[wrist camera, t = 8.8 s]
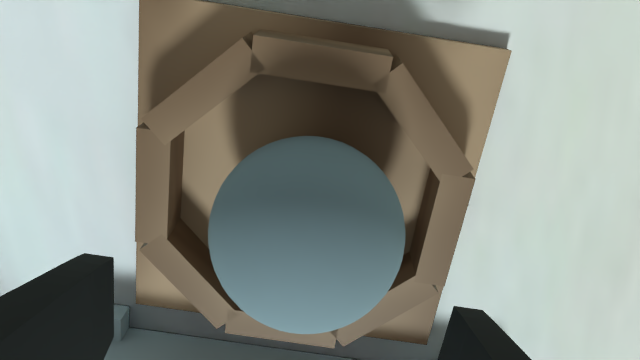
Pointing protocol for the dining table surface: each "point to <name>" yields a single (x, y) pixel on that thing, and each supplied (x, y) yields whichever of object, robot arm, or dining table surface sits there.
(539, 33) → the dining table surface
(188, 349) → the grey bar
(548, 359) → the dining table surface
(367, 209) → the ball
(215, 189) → the ring cradle
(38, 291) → the robot arm
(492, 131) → the dining table surface
